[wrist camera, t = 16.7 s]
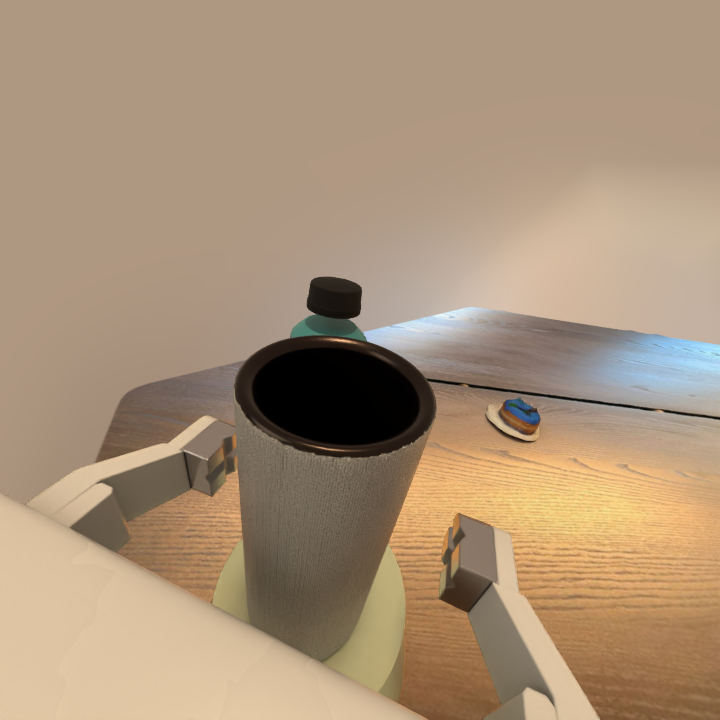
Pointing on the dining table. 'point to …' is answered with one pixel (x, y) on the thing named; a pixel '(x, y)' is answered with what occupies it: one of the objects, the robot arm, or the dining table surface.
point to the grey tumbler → (323, 479)
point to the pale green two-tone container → (370, 636)
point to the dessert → (515, 419)
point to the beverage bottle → (331, 309)
